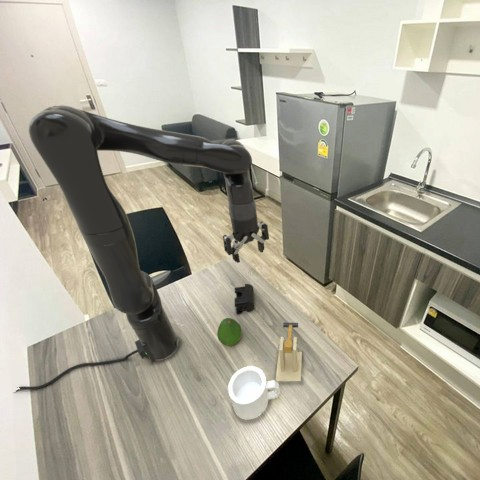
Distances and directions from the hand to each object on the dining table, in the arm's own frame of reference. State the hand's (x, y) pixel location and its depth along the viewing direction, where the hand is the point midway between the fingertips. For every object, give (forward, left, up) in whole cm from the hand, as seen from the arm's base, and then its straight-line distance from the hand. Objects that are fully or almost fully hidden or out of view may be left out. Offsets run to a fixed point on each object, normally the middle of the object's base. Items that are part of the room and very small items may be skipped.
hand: (249, 256), depth 86 cm
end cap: (-1, +8, -30) cm, 31 cm away
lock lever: (0, -22, -20) cm, 30 cm away
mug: (-17, -27, -30) cm, 44 cm away
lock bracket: (-3, -25, -30) cm, 39 cm away
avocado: (-13, -4, -30) cm, 33 cm away
